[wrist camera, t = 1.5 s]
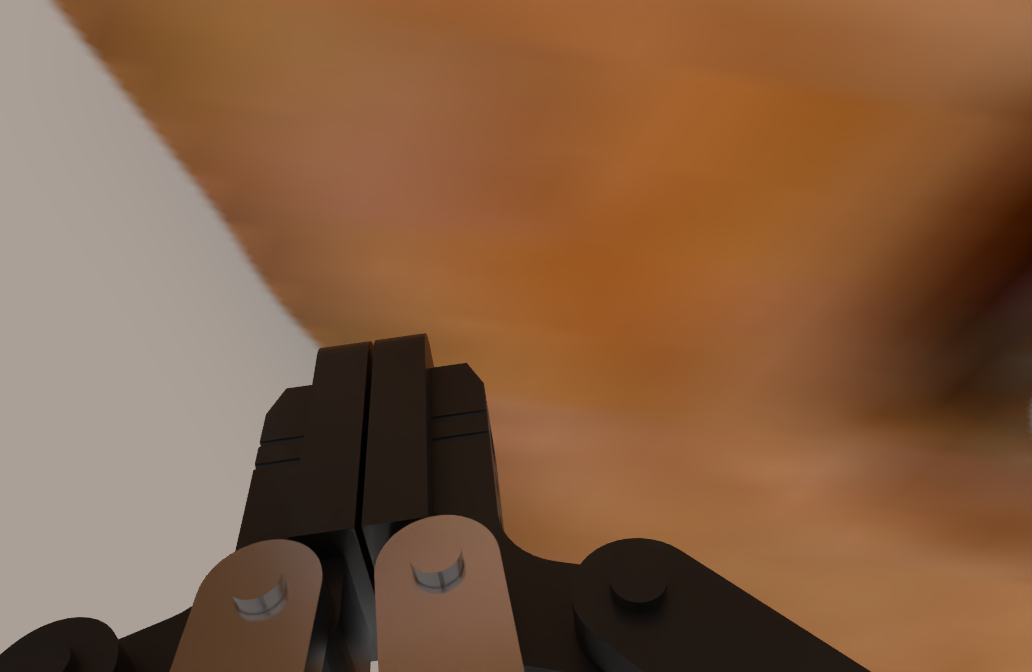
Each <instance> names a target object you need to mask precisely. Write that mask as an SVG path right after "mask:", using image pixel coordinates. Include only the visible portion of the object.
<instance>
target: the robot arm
mask: <svg viewBox="0 0 1032 672" xmlns="http://www.w3.org/2000/svg"><path fill="white" fill-rule="evenodd" d="M260 444H261V447H259V448H258V453H257V457H256V462H255V467H256V470H253V475H252V479H251V484H250V488H249V493H248V497H247V502H246V506H245V511H244V515H243V520H242V524H241V528H240V533H239V537H238V542H237V546H236V551H235V552H234V553H232V554H230V555H229V556H227V557H226V558H225V559H223V560H222V561H220V562H219V563H218V564H217V565H216V566H215V567H214V568H213V569H212V570H211V571H210V572H209V574H208V575H207V576H206V577H205V579H204V580H203V582H202V583H201V585H200V587H199V590H198V592H197V594H196V597H195V600H194V603H193V606H192V607H190V608H189V609H187V610H185V611H183V612H182V613H180V614H178V615H175V616H173V617H171V618H169V619H167V620H164V621H162V622H160V623H157V624H155V625H152V626H150V627H147V628H145V629H143V630H140V631H138V632H135V633H133V634H131V635H128V636H126V637H123V638H121V639H118V638H117V637H116V635H115V633H114V632H113V630H112V629H111V628H110V627H109V626H108V625H107V624H105V623H103V622H101V621H99V620H97V619H92V618H84V617H76V618H67V619H63V620H59V621H55V622H53V623H50V624H47V625H44V626H42V627H40V628H38V629H36V630H34V631H32V632H30V633H29V634H27V635H26V636H24V637H22V638H21V639H19V640H18V641H17V642H15V643H14V644H13V645H11V646H10V647H9V648H8V649H6V650H5V651H4V652H3V653H2V654H0V672H370V662H371V661H377V660H378V668H379V672H870V671H869V670H867V669H866V668H864V667H863V666H861V665H859V664H858V663H856V662H855V661H853V660H852V659H850V658H848V657H847V656H845V655H844V654H842V653H841V652H839V651H838V650H836V649H834V648H833V647H831V646H830V645H828V644H827V643H825V642H823V641H822V640H820V639H819V638H817V637H816V636H814V635H812V634H811V633H809V632H808V631H806V630H805V629H803V628H801V627H800V626H798V625H797V624H795V623H794V622H792V621H790V620H789V619H787V618H786V617H784V616H783V615H781V614H780V613H778V612H776V611H775V610H773V609H772V608H770V607H769V606H767V605H765V604H764V603H762V602H761V601H759V600H758V599H756V598H754V597H753V596H751V595H750V594H748V593H747V592H745V591H743V590H742V589H740V588H739V587H737V586H736V585H734V584H732V583H731V582H729V581H728V580H726V579H725V578H723V577H721V576H720V575H718V574H717V573H715V572H714V571H712V570H711V569H709V568H707V567H706V566H704V565H703V564H701V563H700V562H698V561H696V560H695V559H693V558H692V557H690V556H689V555H687V554H685V553H684V552H682V551H681V550H679V549H677V548H675V547H673V546H671V545H669V544H666V543H663V542H661V541H656V540H652V539H643V538H631V539H623V540H618V541H614V542H611V543H608V544H606V545H604V546H602V547H600V548H598V549H596V550H595V551H594V552H592V553H591V554H589V555H588V556H587V557H586V558H585V559H584V560H583V562H582V563H581V564H580V565H579V564H572V563H564V562H557V561H551V560H546V559H542V558H539V557H536V556H533V555H531V554H529V553H527V552H526V551H524V550H522V549H521V548H519V547H518V546H517V545H515V544H514V543H513V542H512V541H511V540H510V539H509V538H508V536H507V535H506V534H505V532H504V526H503V517H502V508H501V500H500V492H499V482H498V473H497V464H496V458H495V451H494V445H493V439H492V432H491V426H490V420H489V413H488V407H487V401H486V394H485V388H484V383H483V382H482V381H481V379H480V378H479V377H478V376H477V375H476V374H475V372H474V371H473V370H472V369H471V368H470V366H469V365H468V364H467V363H463V364H456V365H448V366H441V367H434V365H433V360H432V355H431V350H430V345H429V341H428V337H427V334H426V333H424V334H417V335H410V336H403V337H396V338H389V339H381V340H375V343H374V345H373V343H372V342H371V341H369V342H362V343H354V344H347V345H340V346H333V347H326V348H320V349H319V350H318V354H317V359H316V366H315V372H314V378H313V384H312V385H309V386H302V387H294V388H287V389H286V390H285V391H284V392H283V393H282V395H281V396H280V397H279V399H278V400H277V401H276V403H275V404H274V405H273V406H272V408H271V409H270V410H269V411H268V413H267V414H266V417H265V422H264V426H263V430H262V435H261V439H260Z"/></svg>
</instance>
